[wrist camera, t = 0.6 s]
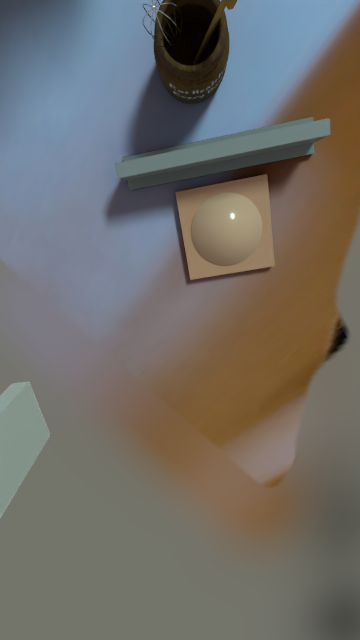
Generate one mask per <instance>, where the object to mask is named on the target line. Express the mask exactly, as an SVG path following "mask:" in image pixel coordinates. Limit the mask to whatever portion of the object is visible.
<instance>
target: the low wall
mask: <svg viewBox="0 0 360 640" xmlns="http://www.w3.org/2000/svg"><path fill="white" fill-rule="evenodd" d="M329 135H330V118H328V119H323V120H318V121H314V120H313V117H310V118H305V119H301V120H296V121H291V122H287V123H282V124H277V125H272V126H268V127H263V128H258V129H254V130H249V131H244V132H240V133H235V134H230V135H225V136H221V137H216V138H211V139H207V140H202V141H197V142H193V143H188V144H183V145H178V146H174V147H169V148H164V149H160V150H155V151H150V152H146V153H141V154H136V155H131V156H127V157H122V158H123V162H119V163H115V166H116V171H117V175H118V178H119V179H123V180H127V181H128V186H129V190H135V189H140V188H145V187H150V186H155V185H160V184H165V183H170V182H175V181H180V180H185V179H190V178H195V177H200V176H205V175H210V174H215V173H220V172H225V171H230V170H235V169H240V168H245V167H250V166H255V165H260V164H265V163H270V162H275V161H280V160H285V159H290V158H295V157H300V156H305V155H310V154H314V153H315V150H314V142H316V141H318V140H320V139H323V138H325V137H327V136H329Z"/></svg>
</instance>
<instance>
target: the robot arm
mask: <svg viewBox="0 0 360 640" xmlns="http://www.w3.org/2000/svg"><path fill="white" fill-rule="evenodd" d="M49 437H50V433H49V430H48V427H47V425H46V422H45V420H44V417H43V415H42V412H41V410H40V408H39V405H38V402H37V400H36V397H35V395H34V392H33V390H32V387H31V385H30V382H22V383H14V384H11V385H10V386H9V387H8V388H7V389H6V390H5V391H4V392H3V393H2V394H1V395H0V518H1V516H2V515H3V513H4V511H5V510H6V508H7V506H8V505H9V503H10V501H11V500H12V498H13V496H14V495H15V493H16V491H17V490H18V488H19V487H20V485H21V483H22V482H23V480H24V478H25V476H26V475H27V473H28V472H29V470H30V468H31V467H32V465H33V463H34V462H35V460H36V458H37V457H38V455H39V454H40V452H41V450H42V449H43V447H44V445H45V444H46V442H47V440H48V439H49Z"/></svg>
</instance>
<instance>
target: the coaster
mask: <svg viewBox="0 0 360 640" xmlns="http://www.w3.org/2000/svg"><path fill="white" fill-rule="evenodd" d="M175 193H176V199H177V205H178V211H179V217H180V222H181V228H182V234H183V240H184V246H185V251H186V257H187V263H188V269H189V274H190V280H193V279H199V278H205V277H211V276H217V275H223V274H229V273H236V272H242V271H248V270H254V269H260V268H266V267H272V266H275V264H274V251H273V239H272V226H271V214H270V201H269V189H268V176H267V174H265V175H260V176H255V177H250V178H245V179H240V180H234V181H229V182H224V183H219V184H214V185H209V186H204V187H199V188H194V189H189V190H184V191H178V192H175Z"/></svg>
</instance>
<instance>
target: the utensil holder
mask: <svg viewBox="0 0 360 640" xmlns="http://www.w3.org/2000/svg"><path fill="white" fill-rule="evenodd" d="M157 1H158V0H157ZM157 1H156V3H157ZM236 2H237V0H221V2H220V0H163V2H162V3H161V4H160V3H159V2H158V3H159V5H158V6H160V8H159V10H158V9H156V7H158V6H156V3H155V6H156V7H155V6H154V4H153V6H154V7H153V6H151V5H148V4H143V5H148V6H150V7H152V8H153V9H151V10H153V12H154V10H155V9H156V10H158V13H157V14H156V16H157V17H156V22H155V21H154V20H153V19H152V18H151V17H150V15H149V14H148V13H149V12H150V11H151V10H150V11H149V12H147V11H146V10H145V11H146V12H147V14H148V15H149V17H150V18H151V23H152V20H153V21H154V22H155V35H154V36H153V35H152V32H151V34H150V33H149V32H148V30H147V29H146V28H145V29H146V30H147V32H148V33H149V34H150V35H152V38H153V37H154V38H153V39H154V55H155V60H156V64H157V68H158V71H159V74H160V77H161V80H162V82H163V84H164V86H165V88H166V89H167V90H168V92H169V93H170V94H171V95H172V96H173V97H174V98H176V99H177V100H179V101H181V102H184V103H199V102H202V101H204V100H206V99H207V98H209V97H210V96H211V95H212V94H213V93H214V92H215V91H216V90H217V88H218V87H219V85H220V83H221V81H222V79H223V76H224V73H225V69H226V65H227V60H228V54H229V32H228V28H227V20H226V16H225V12H224V9H225V7H226V6H227V8H228V10H230V9H233V8H234V6H235V4H236ZM152 3H153V0H152ZM143 8H144V6H143ZM144 9H145V8H144ZM155 13H156V11H155ZM147 14H146V15H147ZM146 15H145V16H146ZM145 16H144V18H145ZM152 16H153V13H152ZM144 18H143V21H144ZM143 26H144V24H143ZM144 27H145V26H144Z"/></svg>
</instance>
